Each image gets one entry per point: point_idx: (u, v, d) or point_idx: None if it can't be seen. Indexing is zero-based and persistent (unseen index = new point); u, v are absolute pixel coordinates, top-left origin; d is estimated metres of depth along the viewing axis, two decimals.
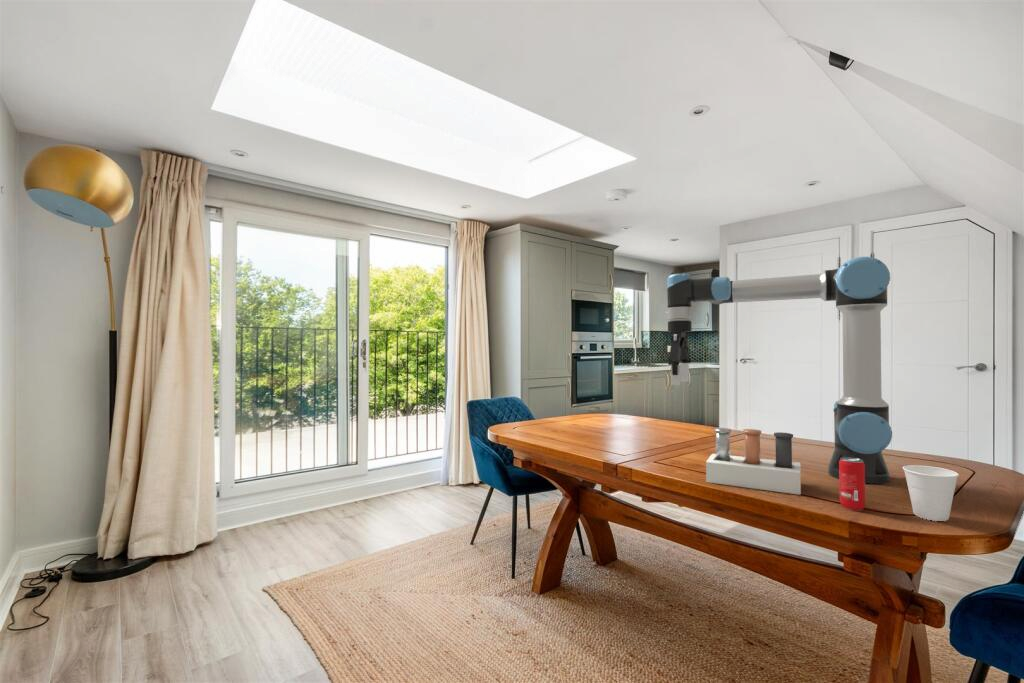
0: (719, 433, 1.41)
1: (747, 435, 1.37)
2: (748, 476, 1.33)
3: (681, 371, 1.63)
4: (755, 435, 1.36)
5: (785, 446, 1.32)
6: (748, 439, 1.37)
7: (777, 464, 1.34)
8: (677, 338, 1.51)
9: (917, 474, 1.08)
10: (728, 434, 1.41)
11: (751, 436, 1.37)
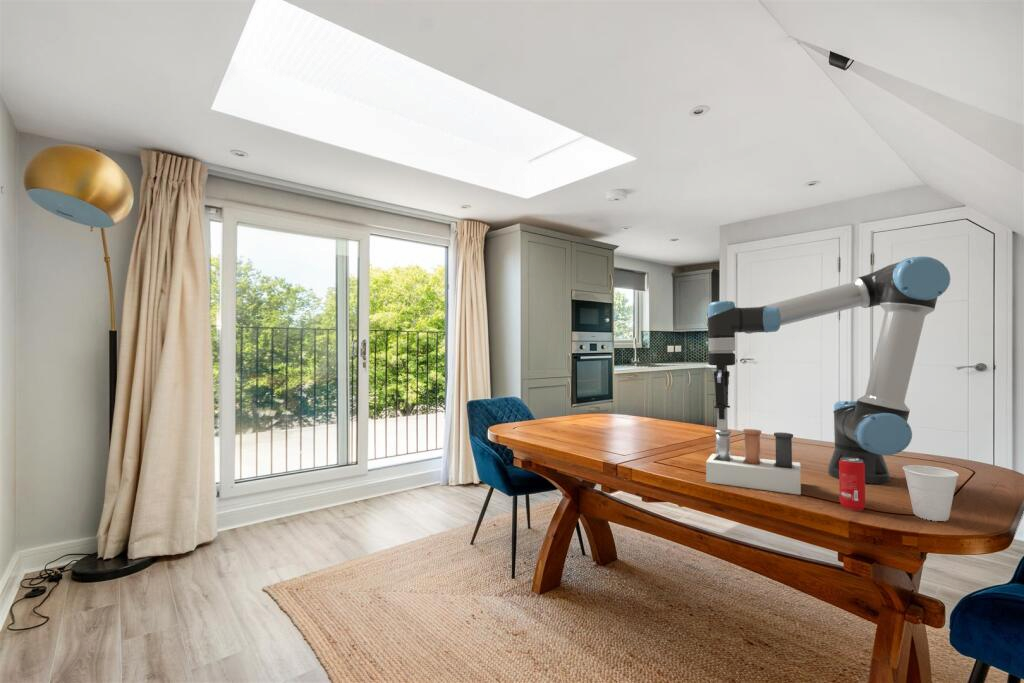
0: (719, 434, 1.41)
1: (747, 435, 1.37)
2: (748, 476, 1.33)
3: None
4: (755, 435, 1.36)
5: (785, 446, 1.32)
6: (748, 439, 1.37)
7: (777, 464, 1.34)
8: (721, 381, 1.37)
9: (917, 474, 1.08)
10: (728, 435, 1.41)
11: (751, 436, 1.37)
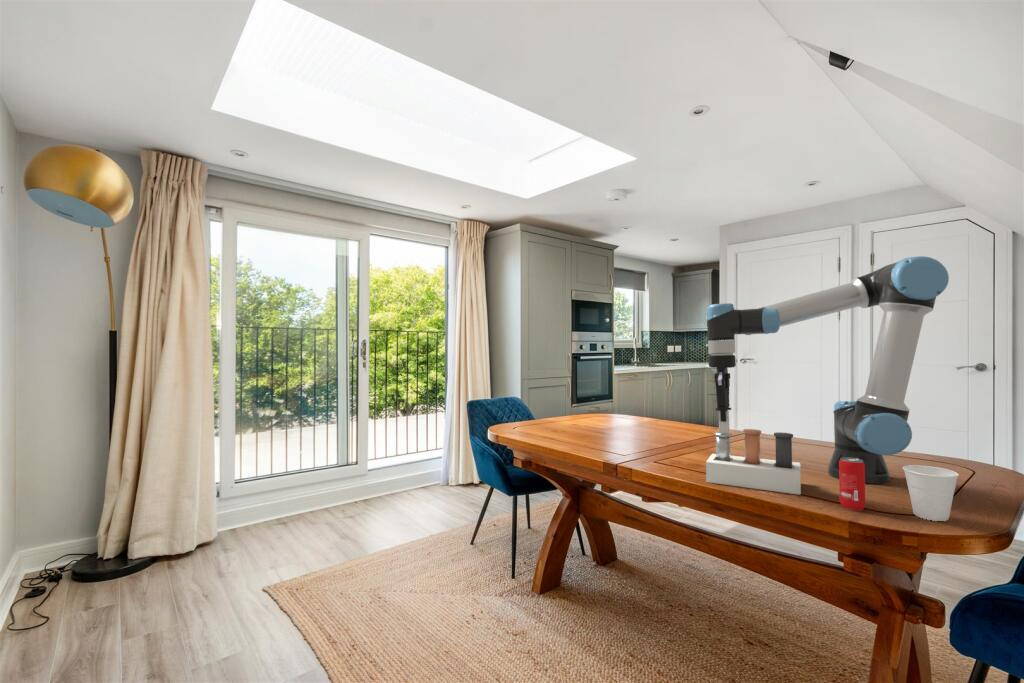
0: (719, 437, 1.41)
1: (747, 435, 1.37)
2: (748, 476, 1.33)
3: None
4: (755, 435, 1.36)
5: (785, 446, 1.32)
6: (748, 439, 1.37)
7: (777, 464, 1.34)
8: (722, 384, 1.37)
9: (917, 474, 1.08)
10: (728, 438, 1.41)
11: (751, 436, 1.37)
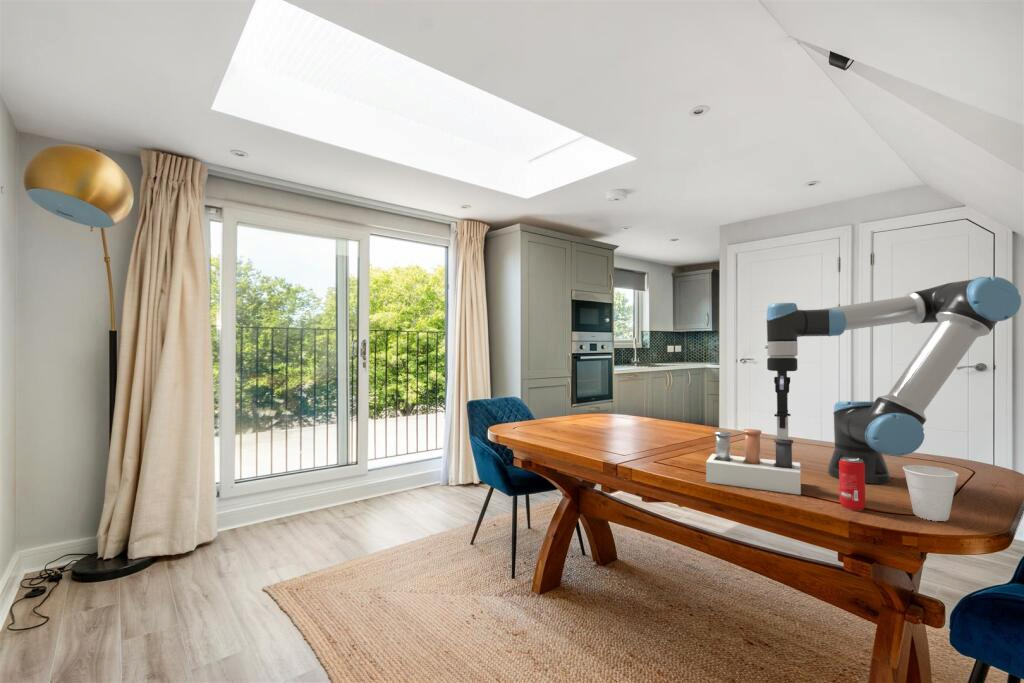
0: (719, 436, 1.41)
1: (747, 435, 1.37)
2: (748, 476, 1.33)
3: None
4: (755, 435, 1.36)
5: (785, 452, 1.32)
6: (748, 439, 1.37)
7: None
8: (784, 388, 1.29)
9: (917, 474, 1.08)
10: (728, 437, 1.41)
11: (751, 436, 1.37)
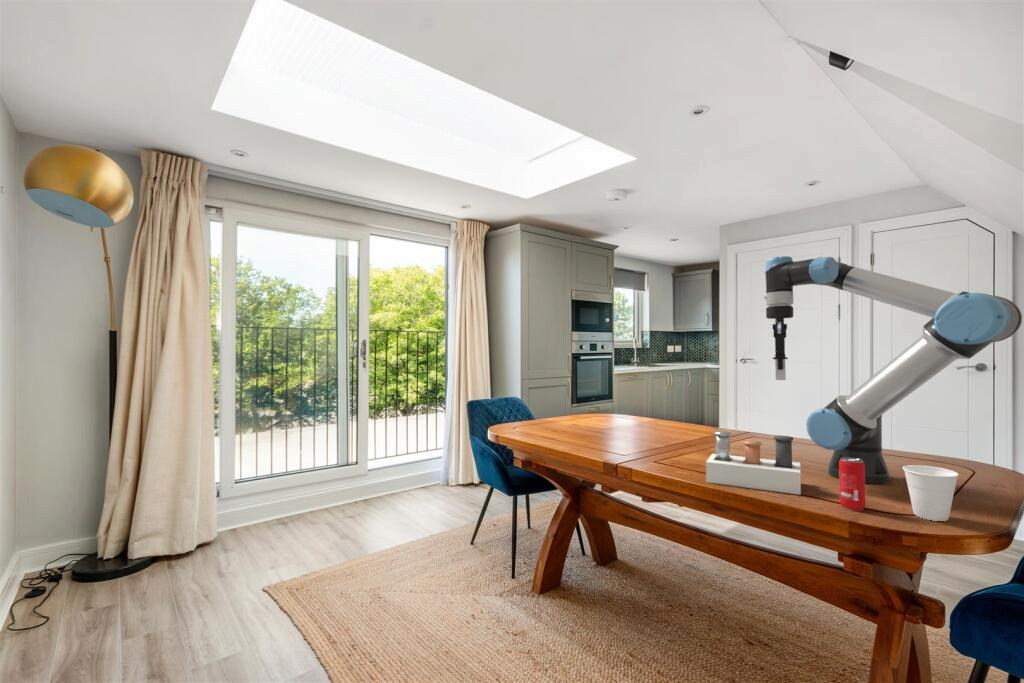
0: (719, 436, 1.41)
1: (747, 446, 1.37)
2: (748, 476, 1.33)
3: None
4: (755, 447, 1.36)
5: (785, 449, 1.32)
6: (749, 450, 1.37)
7: None
8: (782, 332, 1.44)
9: (917, 474, 1.08)
10: (728, 437, 1.41)
11: (751, 447, 1.37)
